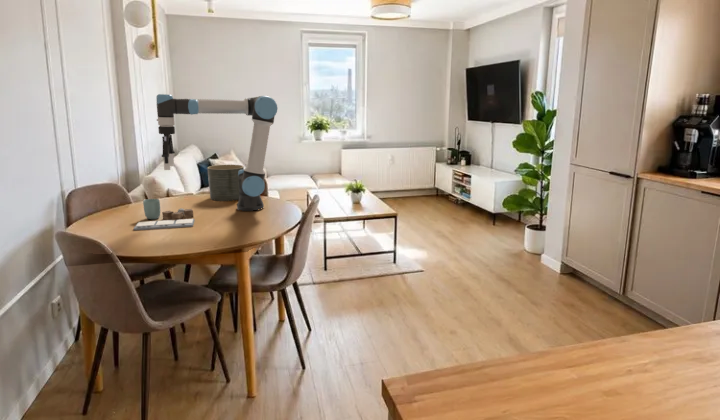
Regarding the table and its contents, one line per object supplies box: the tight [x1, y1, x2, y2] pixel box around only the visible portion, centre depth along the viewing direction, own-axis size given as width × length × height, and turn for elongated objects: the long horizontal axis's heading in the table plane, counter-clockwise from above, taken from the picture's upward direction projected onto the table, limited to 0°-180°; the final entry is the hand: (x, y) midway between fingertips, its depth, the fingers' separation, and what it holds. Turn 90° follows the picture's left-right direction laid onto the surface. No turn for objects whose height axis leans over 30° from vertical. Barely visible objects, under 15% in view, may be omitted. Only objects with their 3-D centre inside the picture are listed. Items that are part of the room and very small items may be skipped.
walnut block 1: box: [161, 210, 175, 221], centre depth 241 cm, size 4×4×4 cm
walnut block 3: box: [183, 208, 194, 219], centre depth 245 cm, size 4×4×4 cm
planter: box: [207, 164, 245, 202], centre depth 291 cm, size 22×22×20 cm
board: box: [133, 218, 195, 231], centre depth 229 cm, size 27×12×1 cm, turn 106°
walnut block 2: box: [171, 211, 184, 220], centre depth 238 cm, size 4×4×4 cm
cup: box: [142, 198, 161, 220], centre depth 241 cm, size 8×8×10 cm
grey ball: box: [177, 208, 185, 216], centre depth 248 cm, size 4×4×4 cm
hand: (169, 168), depth 232 cm, fingers open, 13 cm apart
